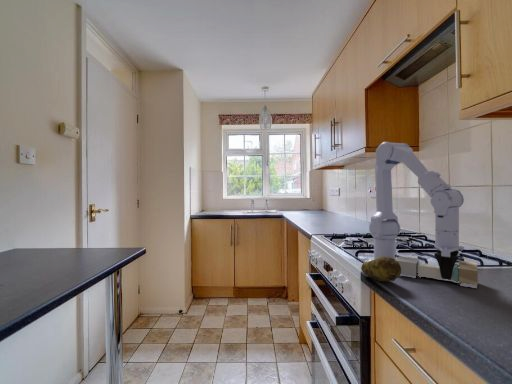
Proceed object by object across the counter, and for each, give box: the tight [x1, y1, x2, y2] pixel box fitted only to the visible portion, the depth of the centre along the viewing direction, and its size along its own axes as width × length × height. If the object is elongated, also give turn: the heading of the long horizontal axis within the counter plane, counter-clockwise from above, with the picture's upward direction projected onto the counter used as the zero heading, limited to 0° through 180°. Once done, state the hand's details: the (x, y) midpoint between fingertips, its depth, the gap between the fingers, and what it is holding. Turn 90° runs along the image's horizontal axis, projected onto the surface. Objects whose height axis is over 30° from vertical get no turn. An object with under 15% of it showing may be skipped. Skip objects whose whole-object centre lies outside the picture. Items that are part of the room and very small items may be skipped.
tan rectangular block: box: [458, 260, 479, 285], centre depth 78 cm, size 7×4×6 cm, turn 143°
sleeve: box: [396, 255, 420, 277], centre depth 87 cm, size 6×6×5 cm
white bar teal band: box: [417, 262, 459, 282], centre depth 82 cm, size 5×12×4 cm, turn 53°
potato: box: [360, 257, 401, 282], centre depth 81 cm, size 8×13×8 cm, turn 178°
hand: (446, 276), depth 81 cm, fingers closed on white bar teal band, 5 cm apart
